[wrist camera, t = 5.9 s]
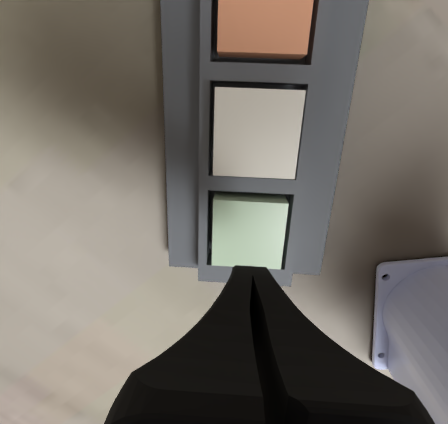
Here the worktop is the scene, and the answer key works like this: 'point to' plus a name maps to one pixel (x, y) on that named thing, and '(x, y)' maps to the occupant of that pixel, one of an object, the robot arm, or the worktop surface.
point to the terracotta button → (264, 28)
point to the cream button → (257, 132)
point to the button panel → (262, 79)
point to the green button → (248, 229)
